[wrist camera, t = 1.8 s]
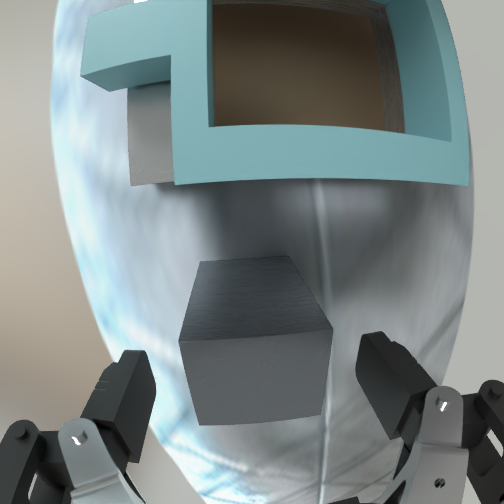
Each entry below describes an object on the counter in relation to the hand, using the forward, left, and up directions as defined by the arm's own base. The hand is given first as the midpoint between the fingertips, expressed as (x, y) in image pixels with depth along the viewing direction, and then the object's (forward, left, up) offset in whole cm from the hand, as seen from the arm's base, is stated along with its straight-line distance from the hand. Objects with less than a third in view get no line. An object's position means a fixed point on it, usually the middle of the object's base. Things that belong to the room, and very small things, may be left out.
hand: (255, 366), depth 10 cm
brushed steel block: (0, 0, -6) cm, 6 cm away
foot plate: (-14, +2, -6) cm, 15 cm away
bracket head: (-11, +1, -1) cm, 11 cm away
